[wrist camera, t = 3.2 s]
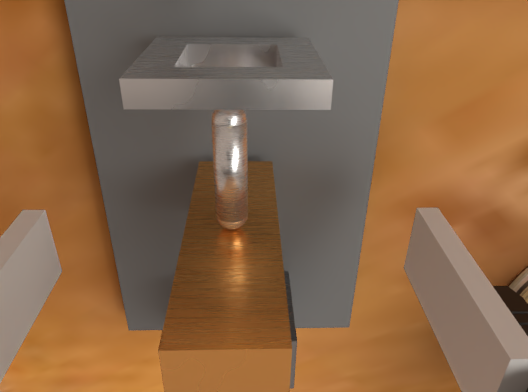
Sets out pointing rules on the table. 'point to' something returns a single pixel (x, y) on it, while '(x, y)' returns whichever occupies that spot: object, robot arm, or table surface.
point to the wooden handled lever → (228, 207)
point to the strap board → (258, 143)
